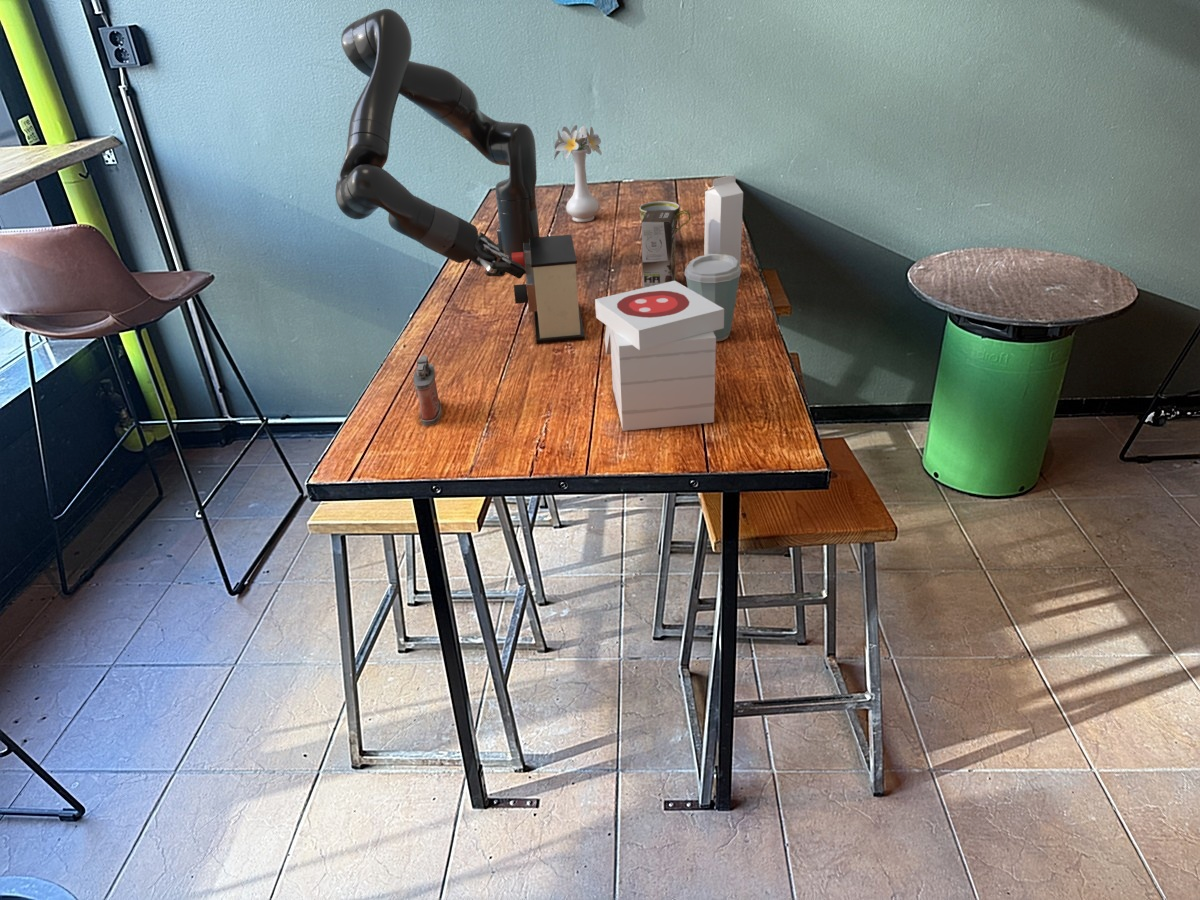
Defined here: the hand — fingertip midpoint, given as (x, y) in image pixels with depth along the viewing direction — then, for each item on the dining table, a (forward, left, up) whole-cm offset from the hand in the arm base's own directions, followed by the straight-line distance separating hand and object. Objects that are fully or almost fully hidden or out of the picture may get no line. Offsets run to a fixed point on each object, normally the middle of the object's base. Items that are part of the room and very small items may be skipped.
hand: (522, 272), depth 161 cm
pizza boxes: (+35, -12, -13) cm, 39 cm away
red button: (-5, +5, -2) cm, 7 cm away
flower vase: (-30, +73, -13) cm, 80 cm away
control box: (+4, +6, -13) cm, 14 cm away
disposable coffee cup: (+35, +13, -13) cm, 39 cm away
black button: (0, -2, -5) cm, 6 cm away
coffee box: (+14, +33, -13) cm, 38 cm away
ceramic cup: (+3, +59, -13) cm, 60 cm away
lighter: (+4, -35, -13) cm, 38 cm away
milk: (+24, +45, -13) cm, 52 cm away
